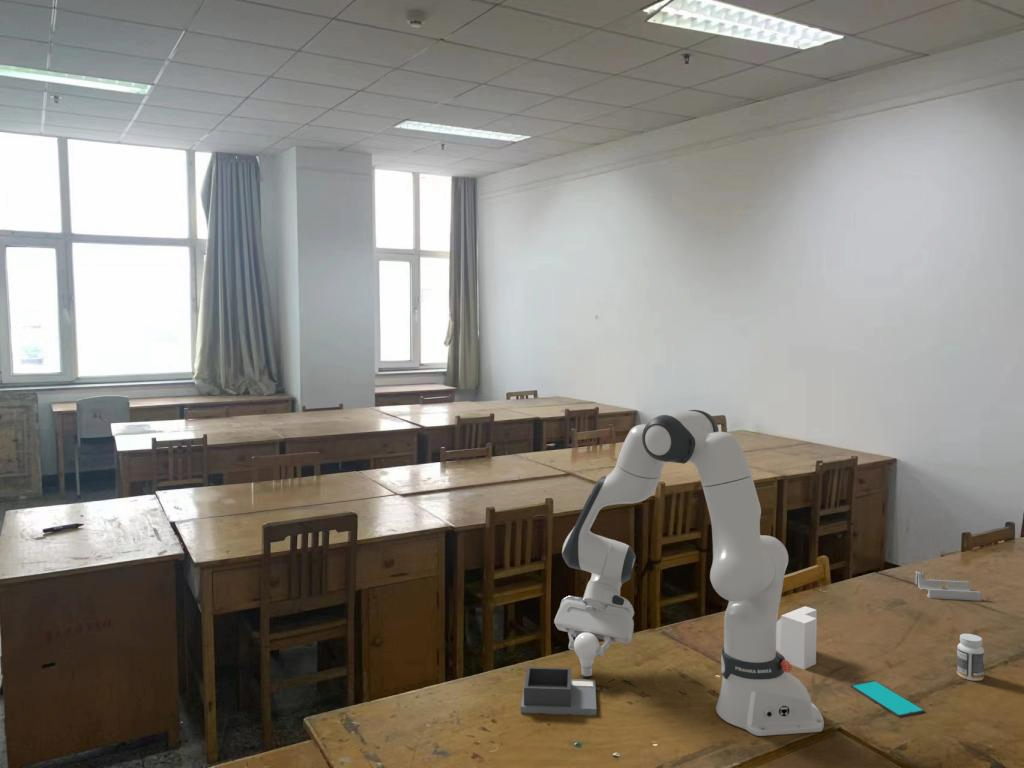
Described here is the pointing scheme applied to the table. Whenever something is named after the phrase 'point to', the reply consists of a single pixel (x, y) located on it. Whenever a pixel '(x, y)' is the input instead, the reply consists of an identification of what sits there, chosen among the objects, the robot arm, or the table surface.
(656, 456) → the robot arm
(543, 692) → the socket board
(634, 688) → the table surface
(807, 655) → the white notched block
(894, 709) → the smartphone
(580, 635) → the lightbulb
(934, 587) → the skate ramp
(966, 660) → the pill bottle
